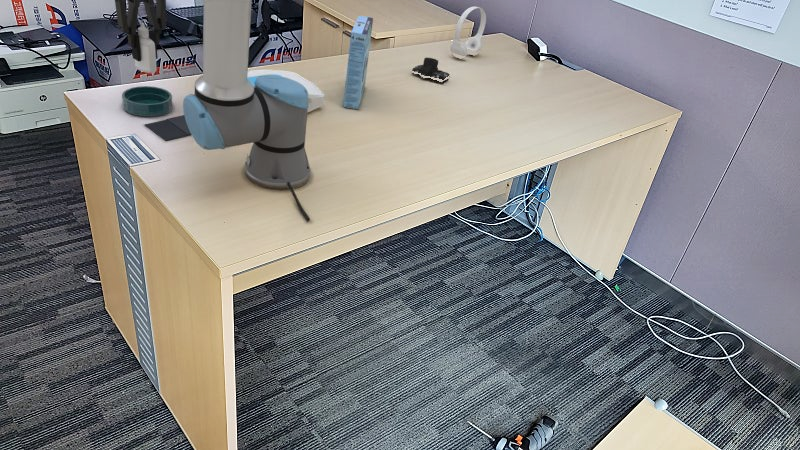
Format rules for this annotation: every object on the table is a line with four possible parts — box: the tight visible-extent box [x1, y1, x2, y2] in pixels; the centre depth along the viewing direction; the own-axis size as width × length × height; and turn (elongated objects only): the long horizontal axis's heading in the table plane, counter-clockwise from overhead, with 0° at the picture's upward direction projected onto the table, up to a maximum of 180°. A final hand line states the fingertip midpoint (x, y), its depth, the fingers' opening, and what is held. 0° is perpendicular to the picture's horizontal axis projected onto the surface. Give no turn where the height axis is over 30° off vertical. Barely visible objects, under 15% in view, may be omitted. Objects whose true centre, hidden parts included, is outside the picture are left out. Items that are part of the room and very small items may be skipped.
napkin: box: [144, 114, 192, 142], centre depth 154 cm, size 10×12×1 cm
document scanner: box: [247, 68, 325, 114], centre depth 173 cm, size 21×28×6 cm
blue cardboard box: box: [342, 15, 374, 110], centre depth 185 cm, size 20×5×23 cm, turn 177°
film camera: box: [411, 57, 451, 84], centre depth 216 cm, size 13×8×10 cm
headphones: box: [449, 6, 487, 57], centre depth 239 cm, size 7×18×20 cm, turn 141°
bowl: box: [121, 85, 174, 117], centre depth 160 cm, size 12×12×4 cm
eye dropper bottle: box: [134, 22, 158, 74], centre depth 152 cm, size 4×6×12 cm
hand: (145, 58), depth 154 cm, fingers closed on eye dropper bottle, 4 cm apart
